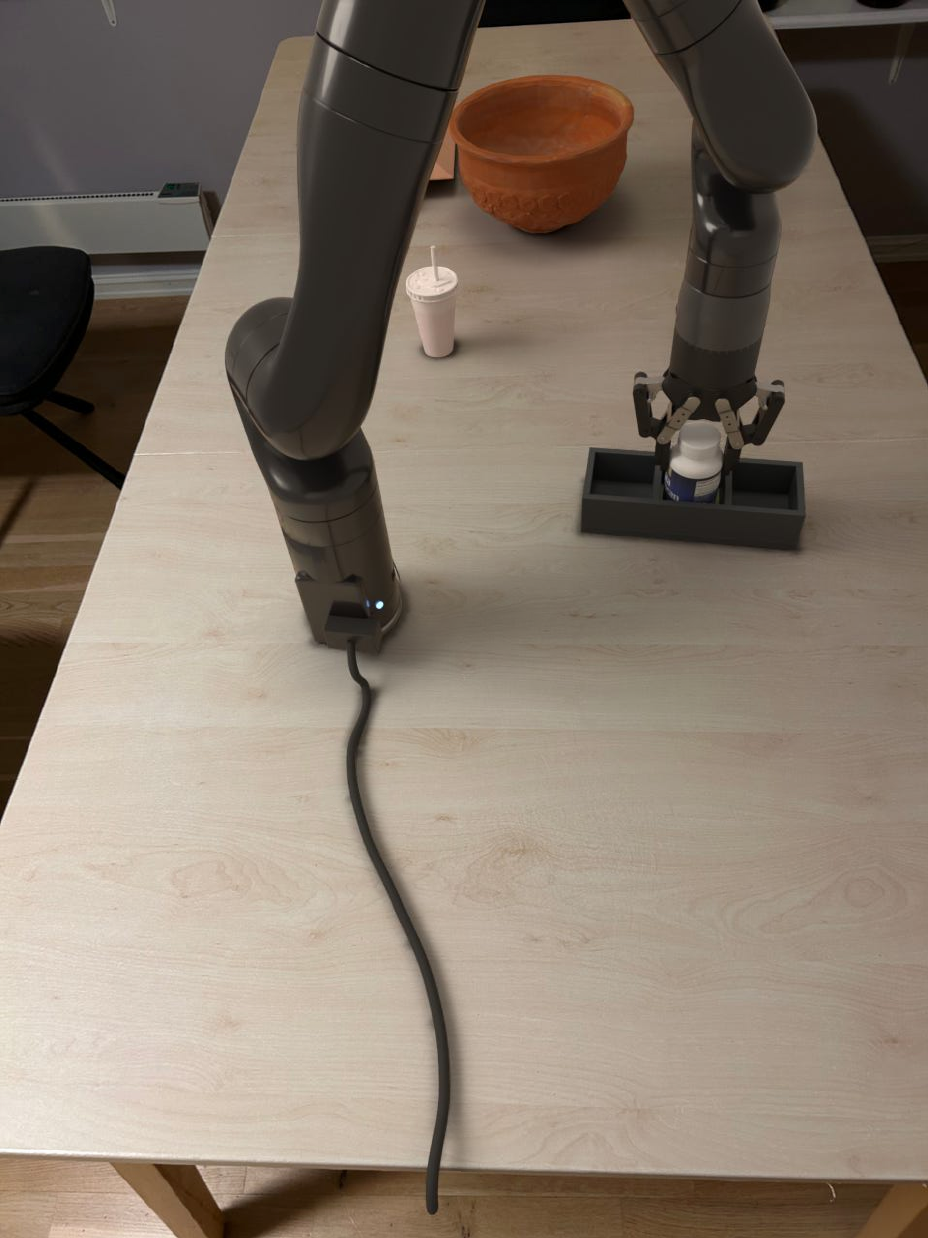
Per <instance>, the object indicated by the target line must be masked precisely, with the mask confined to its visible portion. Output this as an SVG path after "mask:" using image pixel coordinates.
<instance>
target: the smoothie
mask: <svg viewBox="0 0 928 1238" xmlns="http://www.w3.org/2000/svg"><path fill="white" fill-rule="evenodd" d="M436 250H437V249H436V245H430V255H431V265H432V266H426V267H425V266H424V267H422V268H419V269H416V270H414V271H413V272H411V273H410V274H409V276H407V278H406V280H405V292H406V294H407V295H408V297H409V298H410V301H411V304H412V308H413V312H414V316H415V320H416V323H417V327H418V331H419V334H420V335H419V336H420V338H421V342H422V346H423V351H424V352H425V354H426V355H427V356H429V357H432V358H443V357H447V356H449V355H450V354H451V353H453V351H454V342H455V341H454V340H455V324H456V323H455V322H456V302H457V292H458V290H459V287H460V284H459V276H458V275H457V273H456V272H455V271H453V270H452V269H450V268H447V267H444V266H438V260H437V259H438V258H437V251H436Z"/></svg>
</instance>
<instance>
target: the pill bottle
mask: <svg viewBox="0 0 928 1238" xmlns="http://www.w3.org/2000/svg"><path fill="white" fill-rule="evenodd" d="M721 438H722V434H721V432H720V430H719V428H718V427H717V426H716V425H714V424H713V423H710V422H707V421H702V420H694V421H691V422H690V421H689V422H688V423H685V424H684V425H683V426H682V428H681V429H680V430H679V431H678V437H677V441H676V442H675V443H674V444H673V445H671V447H670V454H669V460H668V467H667V471H666V476H665V483H664V490H663V497H662V500H672V501H685V502H697V503H710V504H715V502H716V497H717V492H718V487H719V482H720V478H721V473H722V468H723V462H724V450H723V449H722V448H721V446H720V445H721Z"/></svg>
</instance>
